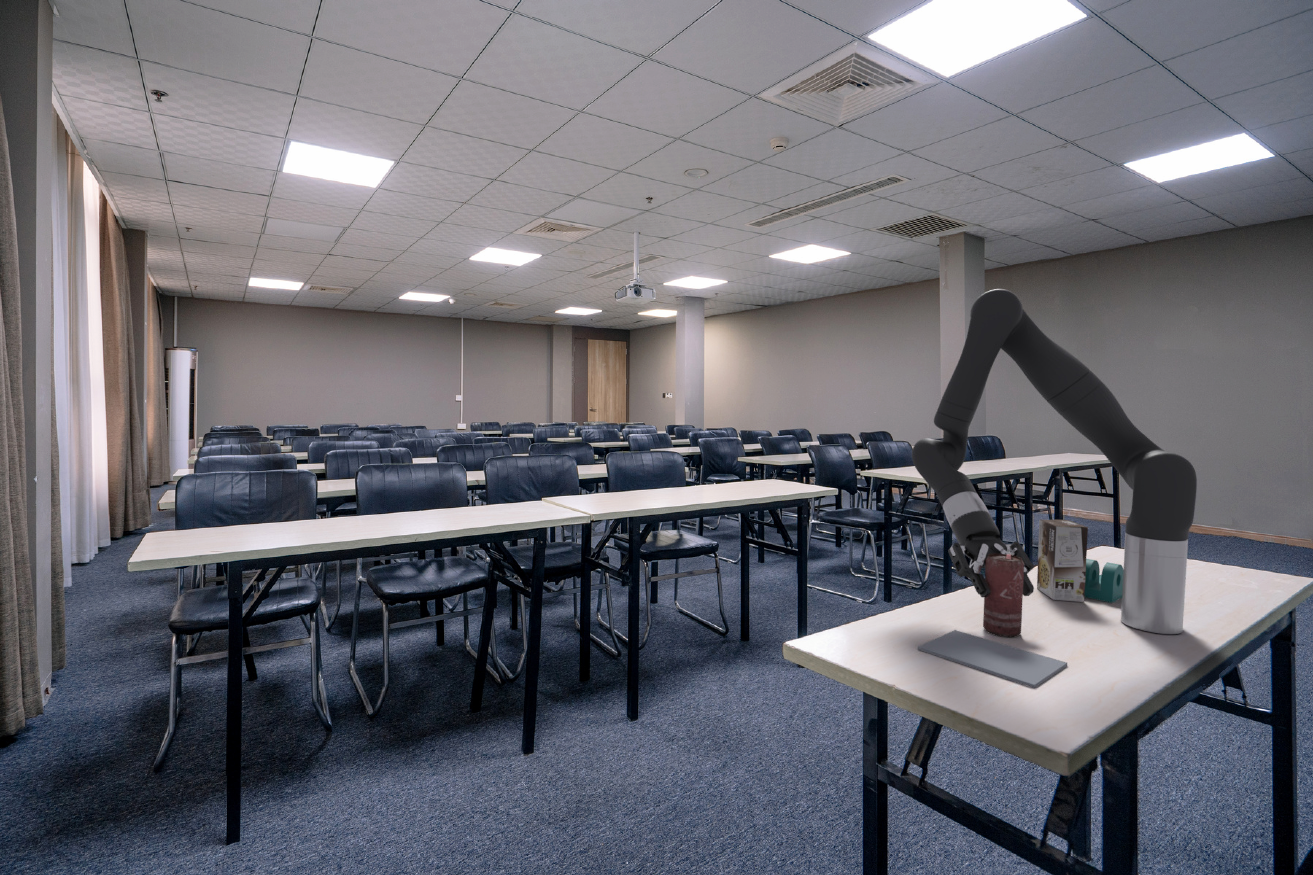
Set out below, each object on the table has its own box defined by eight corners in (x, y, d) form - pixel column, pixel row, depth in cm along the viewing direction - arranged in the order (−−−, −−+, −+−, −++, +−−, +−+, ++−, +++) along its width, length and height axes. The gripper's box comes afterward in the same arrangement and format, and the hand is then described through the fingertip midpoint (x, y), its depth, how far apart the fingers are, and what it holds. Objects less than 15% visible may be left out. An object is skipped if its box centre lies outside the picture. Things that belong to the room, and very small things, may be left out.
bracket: (1112, 603, 132) (1114, 567, 132) (1075, 595, 137) (1077, 560, 137) (1138, 588, 143) (1140, 555, 143) (1104, 582, 149) (1105, 549, 148)
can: (1021, 629, 116) (1024, 555, 115) (1020, 640, 110) (1023, 562, 109) (984, 623, 119) (987, 550, 118) (981, 633, 113) (984, 557, 113)
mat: (954, 632, 114) (955, 629, 114) (1067, 665, 100) (1067, 662, 100) (917, 649, 106) (917, 646, 106) (1034, 688, 92) (1034, 684, 92)
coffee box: (1085, 602, 132) (1089, 527, 131) (1052, 600, 133) (1055, 525, 132) (1066, 590, 141) (1070, 519, 140) (1035, 588, 142) (1038, 518, 141)
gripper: (945, 509, 120) (982, 585, 109) (1012, 508, 122) (1055, 583, 111) (928, 531, 125) (962, 605, 115) (992, 530, 127) (1032, 603, 117)
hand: (1008, 594), depth 113 cm, fingers open, 8 cm apart
